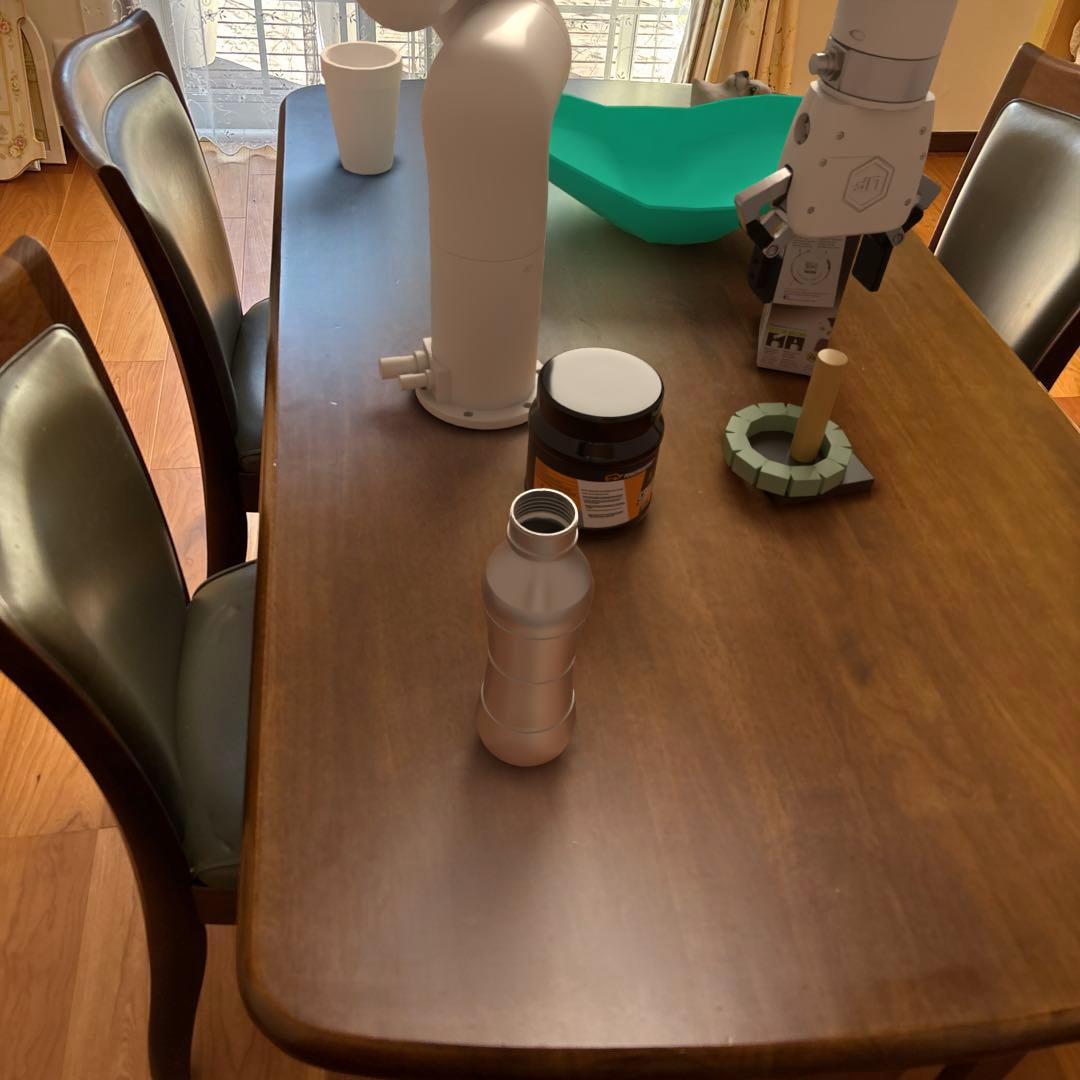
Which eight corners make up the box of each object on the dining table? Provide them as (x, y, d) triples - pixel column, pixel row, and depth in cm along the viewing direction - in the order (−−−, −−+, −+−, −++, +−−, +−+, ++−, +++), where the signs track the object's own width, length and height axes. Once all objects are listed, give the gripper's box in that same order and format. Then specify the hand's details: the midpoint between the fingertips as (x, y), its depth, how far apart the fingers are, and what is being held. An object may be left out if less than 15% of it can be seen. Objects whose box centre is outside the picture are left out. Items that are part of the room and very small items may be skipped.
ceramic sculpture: (687, 51, 139) (792, 61, 142) (674, 115, 145) (774, 124, 148) (704, 81, 132) (814, 91, 134) (689, 147, 138) (794, 155, 140)
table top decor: (785, 178, 133) (810, 72, 124) (857, 286, 113) (893, 170, 104) (481, 174, 128) (484, 64, 119) (500, 287, 108) (505, 165, 99)
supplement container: (606, 564, 79) (624, 442, 71) (496, 507, 83) (502, 385, 75) (672, 495, 86) (697, 375, 77) (568, 445, 90) (581, 326, 81)
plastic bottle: (569, 696, 70) (600, 471, 56) (575, 782, 65) (611, 558, 51) (475, 695, 69) (482, 467, 55) (473, 781, 64) (481, 555, 51)
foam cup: (321, 152, 130) (312, 44, 121) (391, 144, 133) (388, 38, 124) (340, 184, 124) (332, 72, 115) (414, 175, 127) (411, 66, 118)
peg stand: (778, 506, 85) (811, 396, 78) (731, 441, 91) (757, 333, 84) (871, 489, 88) (911, 381, 80) (819, 427, 94) (852, 321, 86)
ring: (741, 498, 84) (745, 482, 83) (709, 420, 91) (712, 404, 90) (863, 494, 85) (869, 477, 84) (821, 417, 93) (826, 401, 92)
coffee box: (820, 378, 100) (867, 223, 89) (754, 367, 100) (792, 212, 89) (820, 330, 106) (864, 180, 95) (758, 320, 107) (794, 170, 96)
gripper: (793, 95, 66) (736, 325, 78) (1013, 84, 71) (928, 303, 82) (741, 53, 71) (696, 275, 83) (950, 46, 76) (879, 257, 87)
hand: (812, 289), depth 82 cm, fingers open, 9 cm apart
